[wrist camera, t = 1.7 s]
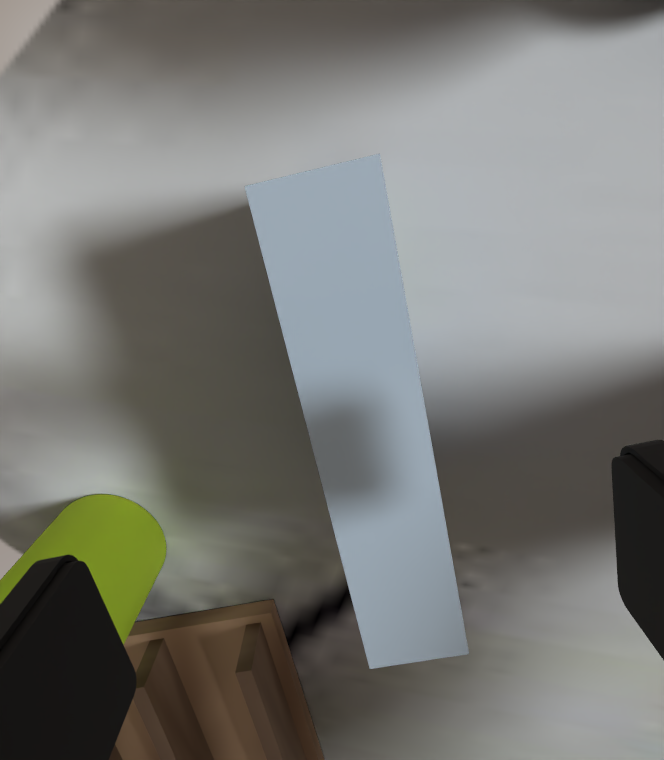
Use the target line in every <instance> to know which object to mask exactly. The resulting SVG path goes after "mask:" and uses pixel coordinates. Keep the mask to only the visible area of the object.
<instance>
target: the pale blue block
mask: <svg viewBox="0 0 664 760" xmlns="http://www.w3.org/2000/svg"><path fill="white" fill-rule="evenodd" d="M245 190H246V194H247V198H248V202H249V206H250V210H251V213H252V217H253V221H254V225H255V229H256V233H257V236H258V240H259V244H260V248H261V252H262V256H263V260H264V263H265V267H266V271H267V275H268V279H269V283H270V287H271V290H272V294H273V298H274V302H275V306H276V310H277V314H278V317H279V321H280V325H281V329H282V333H283V337H284V341H285V344H286V348H287V352H288V356H289V360H290V364H291V368H292V371H293V375H294V379H295V383H296V387H297V391H298V395H299V398H300V402H301V406H302V410H303V414H304V418H305V422H306V425H307V429H308V433H309V437H310V441H311V445H312V448H313V452H314V456H315V460H316V464H317V468H318V472H319V475H320V479H321V483H322V487H323V491H324V495H325V499H326V502H327V506H328V510H329V514H330V518H331V522H332V526H333V529H334V533H335V537H336V541H337V545H338V549H339V553H340V556H341V560H342V564H343V568H344V572H345V576H346V580H347V583H348V587H349V591H350V595H351V599H352V603H353V607H354V610H355V614H356V618H357V622H358V626H359V630H360V634H361V637H362V641H363V645H364V649H365V653H366V657H367V660H368V664H369V668H370V669H374V668H380V667H387V666H394V665H400V664H407V663H413V662H420V661H427V660H433V659H440V658H446V657H453V656H460V655H466V654H469V650H468V644H467V639H466V633H465V627H464V622H463V616H462V611H461V605H460V599H459V594H458V588H457V583H456V577H455V571H454V566H453V560H452V555H451V549H450V543H449V538H448V532H447V527H446V521H445V515H444V510H443V504H442V499H441V493H440V487H439V482H438V476H437V471H436V465H435V459H434V454H433V448H432V443H431V437H430V431H429V426H428V420H427V415H426V409H425V403H424V398H423V392H422V387H421V381H420V375H419V370H418V364H417V359H416V353H415V347H414V342H413V336H412V331H411V325H410V319H409V314H408V308H407V303H406V297H405V291H404V286H403V280H402V275H401V269H400V263H399V258H398V252H397V247H396V241H395V235H394V230H393V224H392V219H391V213H390V207H389V202H388V196H387V191H386V185H385V179H384V174H383V168H382V163H381V157H380V154H376V155H372V156H368V157H363V158H359V159H355V160H351V161H347V162H343V163H339V164H334V165H330V166H326V167H322V168H318V169H314V170H310V171H305V172H301V173H297V174H293V175H289V176H285V177H281V178H276V179H272V180H268V181H264V182H260V183H256V184H252V185H248V186H245Z"/></svg>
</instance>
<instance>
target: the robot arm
mask: <svg viewBox="0 0 664 760" xmlns="http://www.w3.org/2000/svg"><path fill="white" fill-rule="evenodd" d="M612 483H613V502H614V520H615V538H616V557H617V575H618V588H619V592H620V595H621V598H622V600H623V602H624V604H625V606H626V608H627V609H628V611H629V612H630V614H631V615H632V617H633V618H634V619H635V621H636V622H637V623H638V625H639V626H640V628H641V629H642V630H643V632H644V633H645V635H646V636H647V637H648V639H649V640H650V642H651V643H652V644H653V646H654V647H655V649H656V650H657V651H658V653H659V654H660V656H661V657H662V658H663V660H664V441H662V440H655V441H650V442H645V443H639V444H634V445H629V446H625V447H623V448H622V450H621V453H620V456H619V457H615V458H613V460H612ZM136 684H137V678H136V672H135V669H134V667H133V665H132V663H131V660H130V658H129V656H128V654H127V652H126V649H125V647H124V645H123V643H122V641H121V638H120V636H119V634H118V632H117V630H116V627H115V625H114V623H113V621H112V619H111V616H110V614H109V612H108V610H107V608H106V605H105V603H104V601H103V599H102V597H101V594H100V592H99V590H98V588H97V586H96V583H95V581H94V579H93V577H92V574H91V572H90V570H89V568H88V566H87V565H86V563H85V562H83V561H78V559H77V558H76V557H74V556H73V555H69V554H68V555H63V556H58V557H53V558H48V559H43V560H39V561H36V562H35V563H34V564H33V565H32V566H31V567H30V568H29V569H28V571H27V572H26V573H25V574H24V576H23V577H22V578H21V579H20V580H19V582H18V583H17V584H16V585H15V587H14V588H13V589H12V590H11V592H10V593H9V594H8V595H7V597H6V598H5V599H4V600H3V601H2V603H1V604H0V760H109V758H110V755H111V753H112V750H113V748H114V745H115V743H116V740H117V738H118V735H119V733H120V730H121V727H122V725H123V722H124V720H125V717H126V715H127V712H128V710H129V707H130V705H131V702H132V700H133V697H134V694H135V691H136Z"/></svg>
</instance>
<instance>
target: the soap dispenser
mask: <svg viewBox="0 0 664 760" xmlns="http://www.w3.org/2000/svg"><path fill="white" fill-rule="evenodd" d="M68 554H69V555H73V556H74V557H76V558H77V559H78V561H83V562H85V563H86V565H87V566H88V568H89V570H90V572H91V574H92V577H93V579H94V581H95V583H96V586H97V588H98V590H99V592H100V594H101V597H102V599H103V601H104V603H105V605H106V608H107V610H108V612H109V614H110V616H111V619H112V621H113V623H114V625H115V627H116V630H117V632H118V634H119V636H120V638H121V641H122V643H123V645H124V643H125V641H126V639H127V637H128V635H129V633H130V631H131V629H132V627H133V624H134V622H135V620H136V618H137V616H138V614H139V612H140V610H141V608H142V606H143V604H144V602H145V600H146V598H147V596H148V594H149V592H150V590H151V588H152V586H153V584H154V582H155V580H156V578H157V576H158V574H159V572H160V570H161V568H162V566H163V563H164V561H165V557H166V541H165V537H164V534H163V531H162V529H161V527H160V526H159V524H158V523H157V521H156V520H155V519H154V517H153V516H152V515H151V514H150V513H149V512H148V511H146V510H145V509H144V508H142V507H141V506H139V505H138V504H136V503H134V502H132V501H130V500H128V499H125V498H122V497H119V496H114V495H106V494H98V495H90V496H86V497H83V498H80V499H78V500H76V501H74V502H72V503H71V504H69V505H68V506H67V507H66V508H65V509H64V510H63V511H62V512H61V513H60V514H59V515H58V516H57V518H56V519H55V520H54V521H53V522H52V523H51V524H50V525H49V526H48V528H47V529H46V530H45V531H44V532H43V533H42V534H41V535H40V536H39V538H38V539H37V540H36V541H35V542H34V543H33V544H32V545H31V547H30V548H29V549H28V550H27V551H26V552H25V553H24V554H23V555H22V557H21V558H20V559H19V560H18V561H17V562H16V563H15V565H14V566H13V567H12V568H11V569H10V570H9V571H8V572H7V573H6V575H4V577H3V578H2V579H1V580H0V604H1V603H2V601H3V600H4V599H5V598H6V597H7V595H8V594H9V593H10V592H11V590H12V589H13V588H14V587H15V585H16V584H17V583H18V582H19V580H20V579H21V578H22V577H23V576H24V574H25V573H26V572H27V571H28V569H29V568H30V567H31V566H32V565H33V564H34V563H35V562H36V561H39V560H43V559H48V558H53V557H58V556H63V555H68Z"/></svg>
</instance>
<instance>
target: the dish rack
mask: <svg viewBox="0 0 664 760" xmlns="http://www.w3.org/2000/svg"><path fill="white" fill-rule="evenodd" d="M124 647H125V649H126V652H127V654H128V656H129V658H130V660H131V663H132V665H133V667H134V669H135V672H136V678H137V684H136V691H135V694H134V697H133V700H132V702H131V705H130V707H129V710H128V712H127V715H126V717H125V720H124V722H123V725H122V727H121V730H120V733H119V735H118V738H117V740H116V743H115V745H114V748H113V750H112V753H111V755H110V758H109V760H324V757H323V753H322V750H321V747H320V744H319V741H318V738H317V735H316V731H315V728H314V725H313V722H312V719H311V716H310V713H309V709H308V706H307V703H306V700H305V697H304V694H303V690H302V687H301V684H300V681H299V678H298V675H297V672H296V668H295V665H294V662H293V659H292V656H291V653H290V650H289V646H288V643H287V640H286V637H285V634H284V631H283V628H282V624H281V621H280V618H279V615H278V612H277V609H276V606H275V602H274V599H272V600H266V601H260V602H254V603H248V604H242V605H236V606H230V607H224V608H218V609H212V610H206V611H200V612H194V613H188V614H182V615H176V616H170V617H164V618H158V619H152V620H146V621H140V622H134V624H133V627H132V629H131V631H130V633H129V635H128V637H127V639H126V641H125V643H124Z"/></svg>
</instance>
